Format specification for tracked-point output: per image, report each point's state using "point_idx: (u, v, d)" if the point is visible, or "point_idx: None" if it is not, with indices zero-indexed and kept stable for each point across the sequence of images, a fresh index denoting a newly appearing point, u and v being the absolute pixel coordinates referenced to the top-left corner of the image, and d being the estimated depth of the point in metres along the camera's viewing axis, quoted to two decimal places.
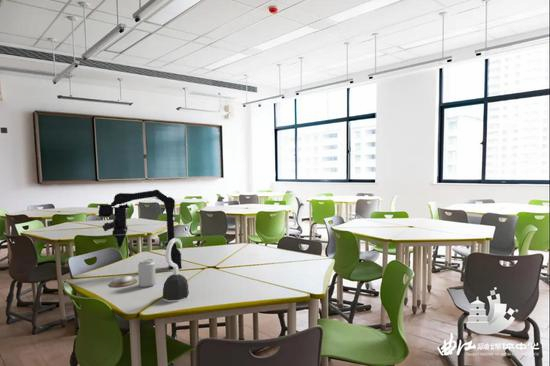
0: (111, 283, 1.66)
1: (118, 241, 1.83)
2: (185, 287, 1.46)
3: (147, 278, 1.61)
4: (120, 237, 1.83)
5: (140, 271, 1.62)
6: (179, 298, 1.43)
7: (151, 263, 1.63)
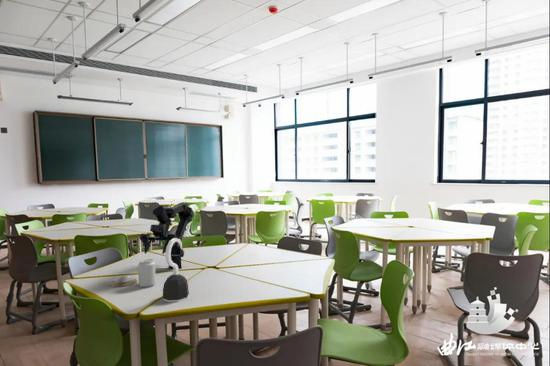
0: (111, 283, 1.66)
1: None
2: (185, 287, 1.46)
3: (147, 278, 1.61)
4: None
5: (140, 271, 1.62)
6: (179, 298, 1.43)
7: (151, 263, 1.63)
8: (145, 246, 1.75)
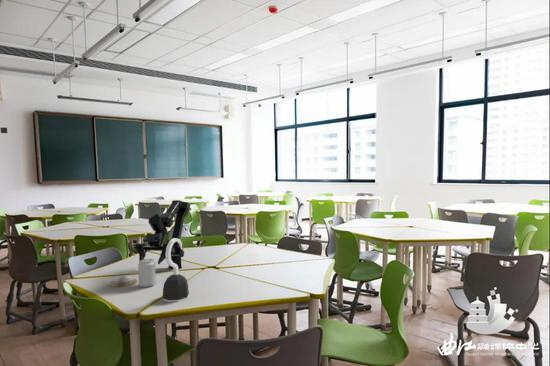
0: (111, 283, 1.66)
1: (162, 257, 1.68)
2: (185, 287, 1.46)
3: (147, 278, 1.61)
4: (164, 254, 1.71)
5: (140, 271, 1.62)
6: (179, 298, 1.43)
7: (151, 263, 1.63)
8: (140, 256, 1.69)
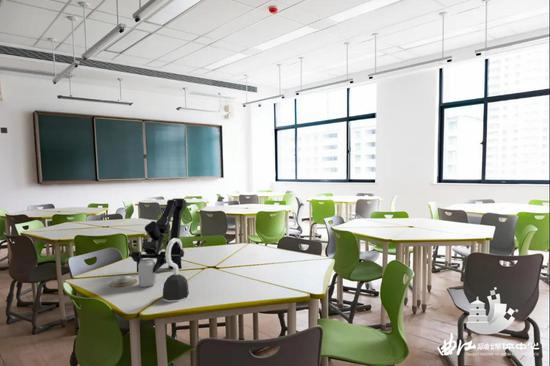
0: (111, 283, 1.66)
1: (157, 265, 1.65)
2: (185, 287, 1.46)
3: (147, 278, 1.61)
4: (159, 262, 1.67)
5: (140, 271, 1.62)
6: (179, 298, 1.43)
7: (151, 263, 1.63)
8: (137, 264, 1.66)
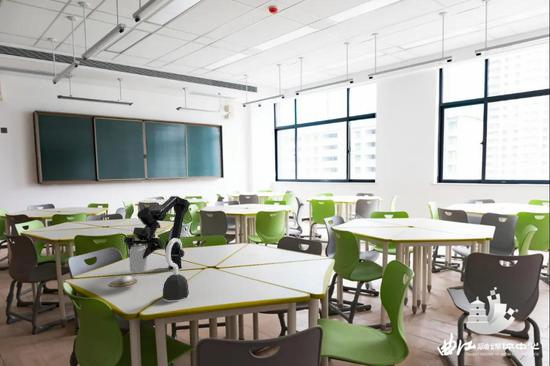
0: (111, 283, 1.66)
1: (148, 251, 1.65)
2: (185, 287, 1.46)
3: (137, 263, 1.62)
4: (150, 249, 1.67)
5: (130, 256, 1.63)
6: (179, 298, 1.43)
7: (141, 249, 1.64)
8: None
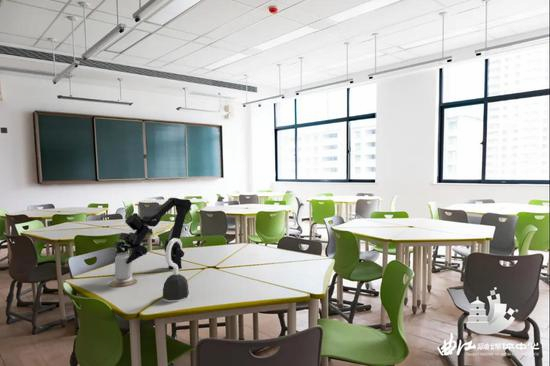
0: (111, 283, 1.66)
1: (131, 257, 1.67)
2: (185, 287, 1.46)
3: (119, 271, 1.66)
4: (135, 254, 1.68)
5: (115, 263, 1.67)
6: (179, 298, 1.43)
7: (125, 257, 1.67)
8: None
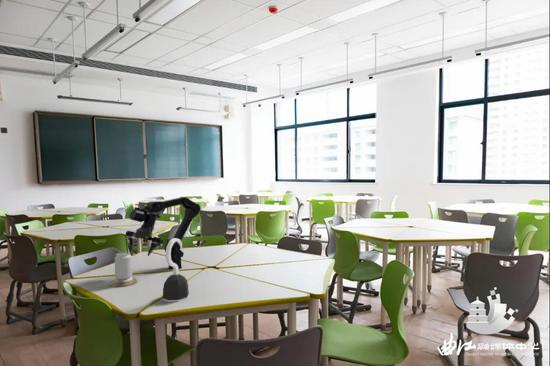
0: (111, 283, 1.66)
1: (151, 249, 1.82)
2: (185, 287, 1.46)
3: (119, 271, 1.66)
4: (153, 246, 1.84)
5: (115, 263, 1.67)
6: (179, 298, 1.43)
7: (124, 257, 1.67)
8: (131, 245, 1.82)
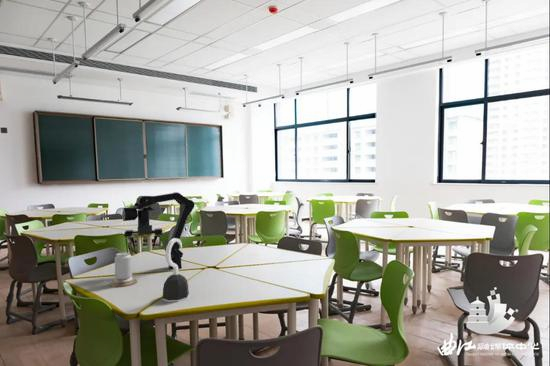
0: (111, 283, 1.66)
1: (155, 241, 1.88)
2: (185, 287, 1.46)
3: (119, 271, 1.66)
4: None
5: (115, 263, 1.67)
6: (179, 298, 1.43)
7: (124, 257, 1.67)
8: (133, 243, 1.84)
